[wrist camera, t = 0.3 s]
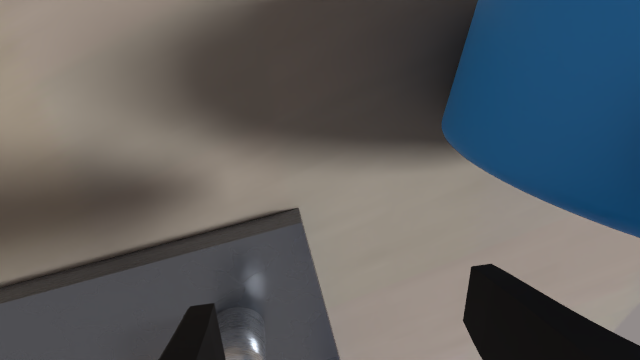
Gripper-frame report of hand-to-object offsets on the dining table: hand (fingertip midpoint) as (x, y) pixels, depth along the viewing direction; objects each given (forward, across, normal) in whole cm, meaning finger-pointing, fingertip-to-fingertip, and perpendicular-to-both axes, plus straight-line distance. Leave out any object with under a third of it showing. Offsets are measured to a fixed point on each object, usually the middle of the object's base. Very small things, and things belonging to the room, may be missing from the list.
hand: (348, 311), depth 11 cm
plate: (+10, +8, +12) cm, 18 cm away
